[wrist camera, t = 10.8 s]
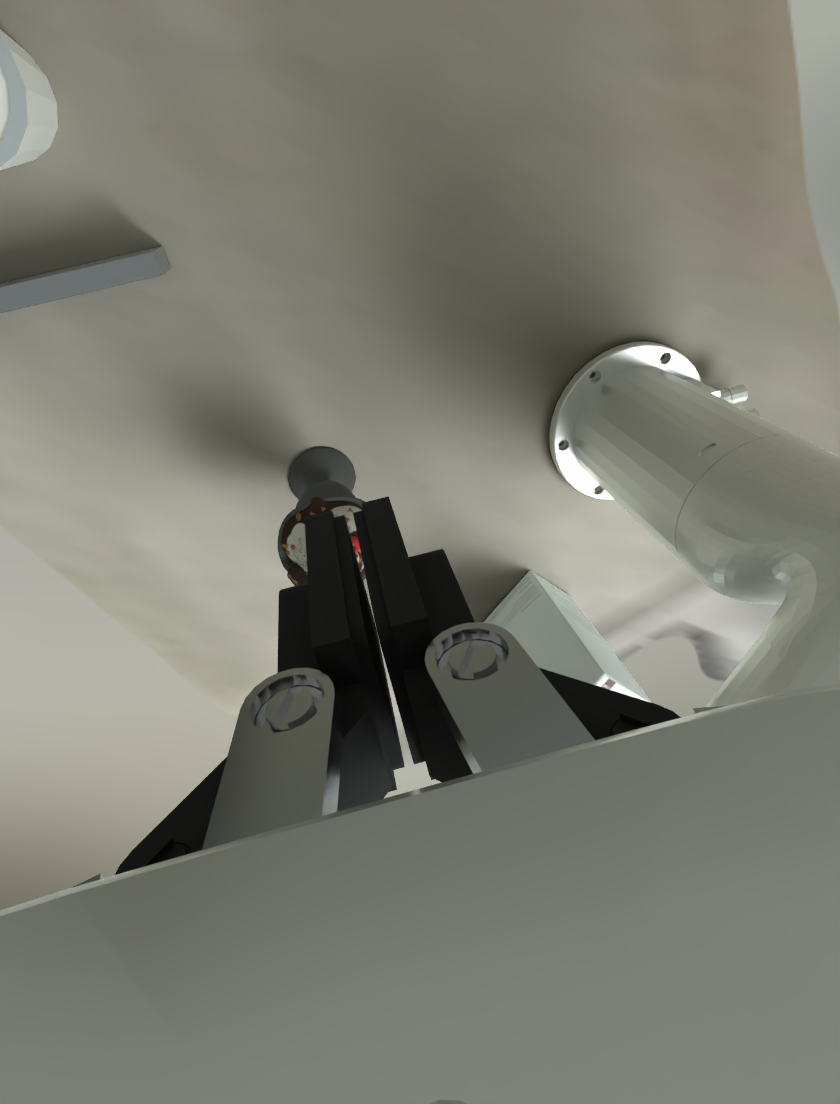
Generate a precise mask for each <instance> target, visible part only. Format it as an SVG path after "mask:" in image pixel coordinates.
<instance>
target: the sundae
mask: <svg viewBox="0 0 840 1104" xmlns="http://www.w3.org/2000/svg"><path fill="white" fill-rule="evenodd" d="M355 478H356V476H355V470H354V467H353V465H352V463H351V462H350V460H349V459H348V458H347V457H346V456H345V455H344V454H342V453H341V452H339V451H337V450H335V449H331V448H325V447H319V448H314V449H310V450H307V451H306V452H304V453H302V454H301V455H300V456H298V457H297V458H296V460H295V461H294V463H293V464H292V466H291V468H290V473H289V483H290V487H291V490H292V492H293V493H294V494H295V496H296V497H297V498H298V499H299V501H298V503H297V506H296V509H294V510H292V511H291V512H290V513H289V514H288V515H287V516H286V517H285V519H284V521H283V522H282V525H281V527H280V530H279V536H278V552H279V556H280V559H281V562H282V564H283V566H284V568H285V569H286V570H287V571H288V574H287V576H288V578H289V579H290V580H291V582H292V583H293V584H294V585H295V586H298V585H302V584H306V583H308V573H307V555H306V538H305V520H304V519H305V517H308V516H312V515H316V514H320V513H324V512H328V511H332V512H333V514H334V517H338V516H342V515H345V518H346V522H347V525H348V529H349V532H350V536H351V540H352V543H353V547H354V550H355V554H356V558H357V561H358V565H359V568H360V572H361V575H362V579H363V580H364V579H365V578H366V575H365V570H364V565H363V560H362V555H361V550H360V546H359V541H358V536H357V531H356V526H355V521H354V516H353V513H354V512H358V511H362V510H363V506H362V503H364V501H362V500H360V499H358V498H356V497H355V496H354V495H353V494H352V490H353V488H354V484H355Z"/></svg>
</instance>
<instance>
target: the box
mask: <svg viewBox="0 0 840 1104" xmlns="http://www.w3.org/2000/svg"><path fill="white" fill-rule="evenodd" d="M169 268H171V267H170V264H169V262H168V259H167V256H166V254H165V251H164V249H163V246H160V247H155V248H151V249H147V250H142V251H138V252H134V253H129V254H125V255H121V256H117V257H112V258H108V259H104V260H99V261H95V262H91V263H86V264H82V265H78V266H73V267H69V268H65V269H61V270H56V271H52V272H48V273H43V274H39V275H35V276H30V277H26V278H22V279H17V280H13V281H9V282H5V283H0V313H3V312H8V311H12V310H16V309H20V308H25V307H29V306H33V305H37V304H42V303H46V302H50V301H54V300H59V299H63V298H67V297H71V296H76V295H80V294H84V293H88V292H93V291H97V290H101V289H105V288H110V287H114V286H118V285H122V284H127V283H131V282H135V281H139V280H144V279H148V278H152V277H156V276H161V275H163V274H164V273H165V272H166V271H167V270H168V269H169Z"/></svg>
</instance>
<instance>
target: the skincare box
mask: <svg viewBox="0 0 840 1104" xmlns="http://www.w3.org/2000/svg"><path fill="white" fill-rule="evenodd" d="M484 623H490V624H495V625H497V626H499V627H502V628H504V629H506V630H507V631H508V632H509V633H511V634H512V635H513V636H514V637H515V638H516V640H517V641H518V642H519V643H520V645H521V646H522V647H523V649H524V650H525V651H526V652H527V654H528V655H529V656H530V658H531V659H532V660H533V661H534V663H535V664H536V665H537V666H538V667H539V668H542V669H545V670H548V671H552V672H555V673H558V674H561V675H564V676H568V677H571V678H574V679H577V680H580V681H584V682H587V683H590V684H593V685H596V686H599V687H603V688H606V689H609V690H612V691H615V692H619V693H622V694H625V695H628V696H631V697H635V698H638V699H641V700H644V701H647V702H650V700H649V698H648V697H647V696H646V694H645V693H644V692H643V690H642V689H641V688H640V686H639V685H638V684H637V682H636V681H635V680H634V678H633V677H632V676H631V674H630V673H629V672H628V670H627V669H626V668H625V666H624V665H623V664H622V663H621V661H620V660H619V659H618V657H617V656H616V655H615V653H614V652H613V651H612V650H611V648H610V647H609V646H608V644H607V643H606V642H605V640H604V639H603V638H602V636H601V635H600V634H599V632H598V631H597V630H596V628H595V627H594V626H593V624H592V623H591V622H590V621H589V619H588V618H587V617H586V615H585V614H584V613H583V611H582V610H581V609H580V607H579V606H578V605H577V603H576V602H575V601H574V599H573V598H572V597H571V596H569V595H568V594H566V593H565V592H563V591H562V590H560V589H558V588H557V587H555V586H554V585H552V584H551V583H549V582H548V581H546V580H545V579H543V578H542V577H540V576H539V575H537V574H536V573H534V572H533V571H531V570H530V571H529V572H528V573H527V574H526V575H525V576H524V577H523V578H522V579H521V581H520V582H519V583H518V584H517V585H516V586H515V587H514V588H513V590H512V591H511V592H510V593H509V594H508V595H507V596H506V597H505V598H504V600H503V601H502V602H501V603H500V604H499V605H498V606H497V607H496V608H495V610H494V611H493V612H492V613H491V614H490V615H489V616H488V618H487V619H486V620H485V621H484ZM650 703H651V702H650Z"/></svg>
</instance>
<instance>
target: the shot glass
mask: <svg viewBox="0 0 840 1104" xmlns="http://www.w3.org/2000/svg"><path fill="white" fill-rule="evenodd" d="M57 129H58V115H57V102H56V99H55V97H54V94H53V92H52V89H51V86H50V84H49V81H48V79H47V77H46V75H45V74H44V73H43V72H42V70H41V69H40V68H39V66H38V65H37V64H36V62H35V61H34V60H33V59H32V57H31V56H30V55H29V53H27V52H26V51H25V50H24V49H23V48H22V47H20V46H19V45H18V44H17V43H16V42H15V41H13V40H12V39H11V38H10V37H9V36H8V35H6V34H5V33H4V32H3V31H2V30H1V29H0V170H3V169H6V168H10V167H13V166H16V165H20V164H23V163H27V162H30V161H34V160H36V159H37V158H38V157H39V156H41V155H42V154H43V153H44V152H45V151H47V150H48V149H49V148H50V147H51V144H52V142H53V139H54V137H55V134H56V132H57Z"/></svg>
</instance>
